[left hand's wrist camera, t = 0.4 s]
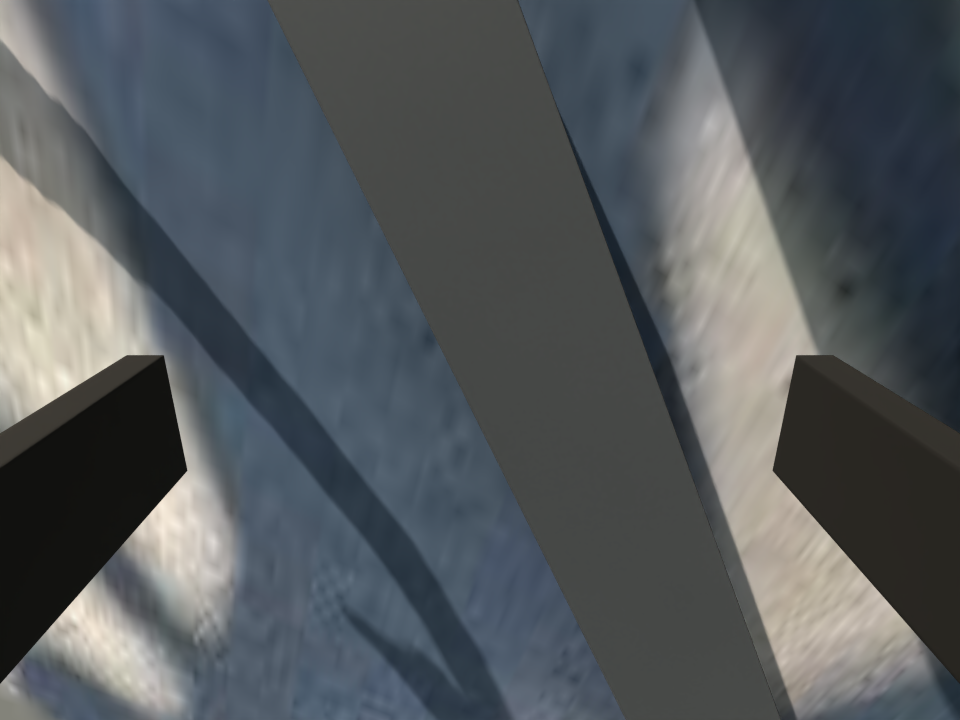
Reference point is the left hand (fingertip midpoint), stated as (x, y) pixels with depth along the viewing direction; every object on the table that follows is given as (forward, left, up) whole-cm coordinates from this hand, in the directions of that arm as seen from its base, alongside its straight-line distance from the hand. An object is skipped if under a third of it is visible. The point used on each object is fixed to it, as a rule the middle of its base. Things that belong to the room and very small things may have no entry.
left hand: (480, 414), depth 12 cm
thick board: (+15, +13, -23) cm, 30 cm away
